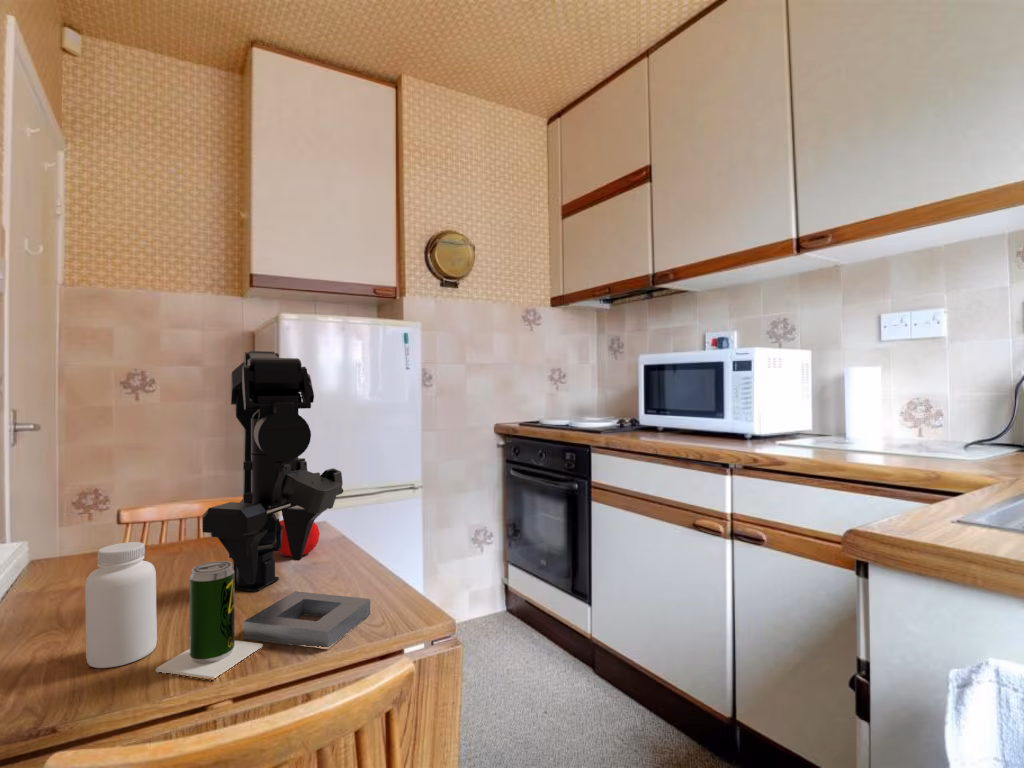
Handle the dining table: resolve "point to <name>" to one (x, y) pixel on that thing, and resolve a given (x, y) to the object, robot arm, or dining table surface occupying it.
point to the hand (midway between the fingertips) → (275, 571)
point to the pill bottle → (120, 607)
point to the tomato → (310, 544)
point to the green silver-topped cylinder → (212, 612)
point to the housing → (286, 627)
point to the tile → (211, 670)
